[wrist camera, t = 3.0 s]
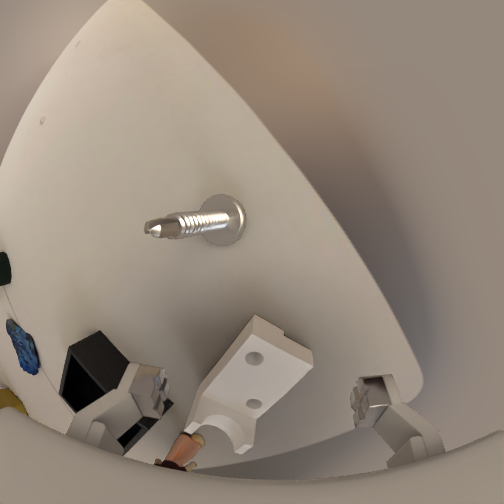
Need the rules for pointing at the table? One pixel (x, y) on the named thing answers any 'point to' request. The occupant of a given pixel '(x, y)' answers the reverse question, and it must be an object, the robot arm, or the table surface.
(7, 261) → the wine bottle
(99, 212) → the table surface
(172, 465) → the grandmother figurine
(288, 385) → the bracket
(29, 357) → the rock
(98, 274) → the table surface
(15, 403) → the flower pot
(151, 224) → the screw
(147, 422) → the open box
